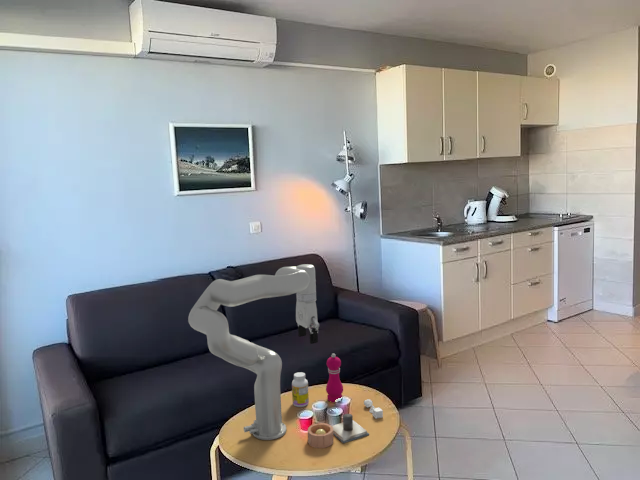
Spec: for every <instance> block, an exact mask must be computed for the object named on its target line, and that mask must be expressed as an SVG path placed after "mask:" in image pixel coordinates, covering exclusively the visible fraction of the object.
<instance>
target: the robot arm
mask: <svg viewBox="0 0 640 480" xmlns="http://www.w3.org/2000/svg"><path fill="white" fill-rule="evenodd" d="M316 282H317V280H316V268H315V266H314V265H313V264H308V263H307V264H305V263H304V264H299V265H297V266H283V267H280V268H278V270H277V271H276V272H275V274H274V275H271V274H255V275H250V276H247V277H244V278H240V279H235V280H228V279H227V280H226V279H223V278H219V279H215V280H213V281H212V282H211V283H210V284H209V285H208V286H207V288H206V289H205V290H204V291H203V293H202V294H201V295H200V297H199V298H198V299H197V301H196V302H195V304H194V305H193V306H192V308H191V309H190V312H189V313H188V317H187V319H188V320H187V322H188V324H189V326H190V327H191V328H192V329H193V330H194V331H197V332H200V333H201V334H204V335H206V339H207V342H206V343H207V347H208V349H209V352H210V353H211V354H213V355H214V356H216V357H218V358H220V359H222V360H224V361H225V362H227V363H230V364H232V365H234V366H237V367H241V368H244V369H246V370H249V371H250V372H253V373H254V374H256V379H255V382H254V385H253V390H254V391H253V393H254V407H255V408H254V409H255V419H254V420H253V423H251V425H246V426H243V432H244V433H249V434H252V435H253V437H254V438H256V439H258V440H262V441H271V440H272V441H273V440H276V439H280V438H282V437H283V436H284V435H285V434H286V433H287V425H286V424H285V423H284V422H283V418H282V417H283V415H282V397H281V373H282V367H283V362H282V358H281V357H280V355H279V354H278V353H277V352H275V351H274V350H272V349H269V348H267V347H263V346H262V345H258V344H256V343H254V342H252V341H251V342H250V341H249V340H248V339H245V338H242V337H240V336H237V335H235V334H231V333H230V328H229V321H228V318H227V317H226V316H225V315H224V314H223V313H222V312H220V311H218V309H219V308H220V306H226V307H229V308H231V307H237V306H240V305H244V304H246V303H251V302H253V301H257V300H261V299H268V298H269V299H271V298H276V297H285V296H290V295H293V294H295V295H296V304H295V321H296V323H297V324H296V325H297V332H298V333H297V334H298V337H306V336H307V329H308V330H309V344H310V345H313V344H317V343H319V336H318V335H319V329H320V328H319V327H320V323H319V322H318V308H317V303H316V301H317V285H316Z"/></svg>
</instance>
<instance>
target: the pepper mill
mask: <svg viewBox="0 0 640 480" xmlns="http://www.w3.org/2000/svg"><path fill="white" fill-rule="evenodd" d="M336 355H337V354H335V353H331V355H330V356H329V358H327V360H326V366H327V373H328V375H329V376H328V381H327V383H326V386H325V392H326V394H327V397H326V398H327V401H328V402H329V401H331V402H330V403H334V402H335V400H336V399H338V398H341V397H342V398H343V394H342V393H343V392H344V386H343V383H342V382H341V380H340V379H341V378H340V372H341V368H340V367H341V366H342V360H341V359H340V358H339V357H338V356H336ZM335 403H336V402H335Z"/></svg>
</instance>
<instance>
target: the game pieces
mask: <svg viewBox="0 0 640 480" xmlns="http://www.w3.org/2000/svg"><path fill="white" fill-rule="evenodd" d="M363 405H364V406H365V407H366V408H367V409H368V408H369V411H368V412H369V413H371V414H372V416H373V418H375V419H381V418H384V414H383V413H384V411H383V409H382V408H381V407H375V406H374V405H373V401H372V399H369V398H368V399H364V400H363Z"/></svg>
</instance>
